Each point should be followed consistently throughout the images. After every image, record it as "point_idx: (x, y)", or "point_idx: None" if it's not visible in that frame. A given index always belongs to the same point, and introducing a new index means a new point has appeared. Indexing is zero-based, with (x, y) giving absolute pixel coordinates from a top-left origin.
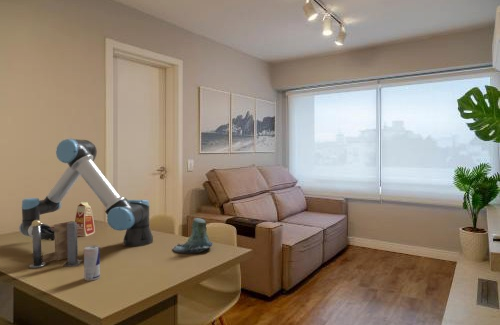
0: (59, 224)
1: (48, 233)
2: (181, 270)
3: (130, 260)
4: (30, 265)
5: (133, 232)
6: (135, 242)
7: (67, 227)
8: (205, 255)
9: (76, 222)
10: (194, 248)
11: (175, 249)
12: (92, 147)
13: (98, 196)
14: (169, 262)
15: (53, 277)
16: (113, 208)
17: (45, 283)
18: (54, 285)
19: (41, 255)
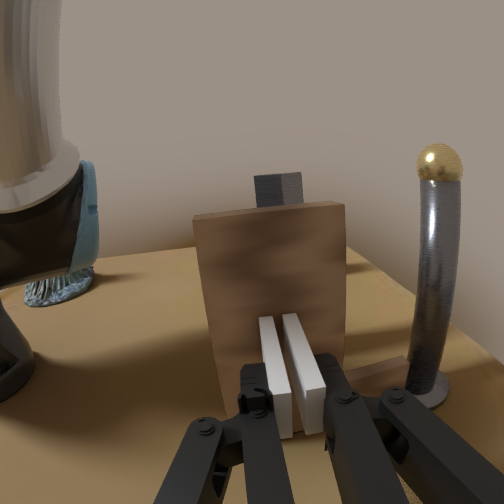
0: (312, 203)
1: (383, 446)
2: (177, 256)
3: (167, 302)
4: (445, 386)
5: (6, 318)
6: (29, 346)
7: (301, 190)
8: (98, 270)
9: (257, 177)
10: (88, 267)
11: (77, 290)
12: None
13: (47, 92)
14: (149, 273)
15: (365, 300)
16: (89, 163)
17: (382, 286)
18: (365, 277)
19: (409, 347)
